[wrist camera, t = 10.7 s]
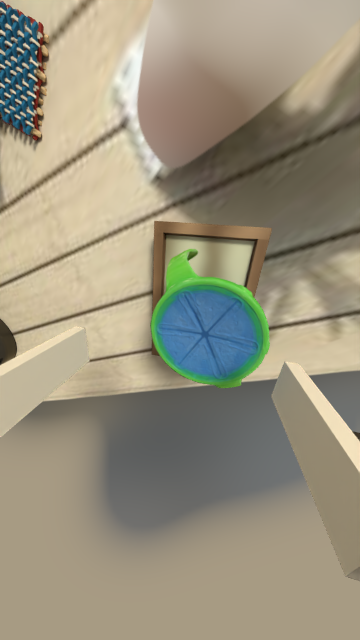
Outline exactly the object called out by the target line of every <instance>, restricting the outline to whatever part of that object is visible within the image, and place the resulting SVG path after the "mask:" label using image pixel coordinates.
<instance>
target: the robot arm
mask: <svg viewBox="0 0 360 640" xmlns="http://www.w3.org/2000/svg"><path fill="white" fill-rule="evenodd" d="M15 354H16V344H15V340H14V338H13V336H12V334H11V332H10V330H9V329H8V327H7V326H6V325H5V324H4V323H3V321H2V320H1V319H0V437H1V436H3V435H4V434H5V433H6V432H7V431H8V430H10V428H12V427H13V426H14V425H15V424H16V423H18V422H19V421H20V420H21V419H22V418H23V417H25V416H26V415H27V414H28V413H29V412H31V411H32V410H33V409H34V408H35V407H36V406H37V405H39V404H40V403H41V402H42V401H43V400H44V399H46V398H47V397H48V396H49V395H50V394H51V393H53V392H54V391H55V390H56V389H57V388H58V387H60V386H61V385H62V384H63V383H64V382H65V381H67V380H68V379H69V378H70V377H71V376H72V375H74V374H75V373H76V372H77V371H78V370H79V369H81V368H82V367H83V366H84V365H85V364H86V363H88V362H89V361H90V358H89V351H88V345H87V338H86V332H85V328H82V327H76V326H75V327H73V328H71V329H69V330H67V331H65V332H63V333H61V334H59V335H58V336H56V337H54V338H52V339H50V340H48V341H46V342H44V343H42V344H40V345H38V346H36V347H34V348H32V349H31V350H29V351H27V352H25V353H23V354H21V355H19V356H17V357H15V358H14V356H15ZM271 397H272V399H273V402H274V404H275V407H276V409H277V412H278V414H279V416H280V419H281V421H282V424H283V426H284V429H285V431H286V433H287V436H288V438H289V441H290V443H291V445H292V448H293V450H294V453H295V455H296V458H297V460H298V463H299V465H300V467H301V470H302V472H303V475H304V477H305V479H306V482H307V484H308V487H309V489H310V492H311V494H312V497H313V499H314V501H315V504H316V506H317V509H318V511H319V513H320V516H321V518H322V521H323V523H324V526H325V528H326V531H327V533H328V535H329V538H330V540H331V543H332V545H333V547H334V550H335V552H336V555H337V557H338V560H339V562H340V565H341V567H342V569H343V572H344V574H345V576H346V577H348V578H351V579H355V580H358V581H360V433H357V432H353V431H351V430H350V428H349V427H348V426H347V424H346V423H345V422H344V421H343V420H342V418H341V417H340V416H339V414H338V413H337V412H336V411H335V409H334V408H333V407H332V405H331V404H330V403H329V402H328V400H327V399H326V398H325V397H324V395H323V394H322V393H321V391H320V390H319V389H318V388H317V386H316V385H315V384H314V383H313V381H312V380H311V379H310V377H309V376H308V375H307V374H306V372H305V371H304V370H303V369H302V367H301V366H300V365H299V364H297V363H291V362H284V365H283V367H282V370H281V372H280V375H279V377H278V380H277V383H276V385H275V388H274V390H273V393H272V395H271Z"/></svg>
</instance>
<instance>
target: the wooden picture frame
mask: <svg viewBox="0 0 360 640" xmlns="http://www.w3.org/2000/svg"><path fill="white" fill-rule="evenodd" d="M271 231H272V228H261V227H245V226H228V225H212V224H195V223H179V222H163V221H154V270H153V311H154V309H155V307H156V305H157V303H158V302H159V300H160V299H161V298H162V296H163V295H164V294H165V292H166V272H167V267H168V264H169V262H170V260H171V259H172V258H173V257H175V256H177V255H178V254H180V253H182V252H184V251H186V250H188V249H196V250H198V254H197V255H196V256H195V257H194V258H192V259H190V260H189V261H188V262H189V264H190V266H191V268H192V269H193V271H194V272H195V273H196V274H197V275H198V276H200V277H216V278H221V279H225V280H228V281H231V282H234V283H236V284H238V285H243V286H244V287H245V288H247V289H248V290H249V291H251V292H252V295H253V297H254V296H255V293H256V289H257V285H258V281H259V277H260V273H261V269H262V266H263V262H264V258H265V254H266V250H267V246H268V242H269V239H270V235H271ZM152 354H153V355H158V356H160V355H159V353H158V351H157V350H156V347H155V345H154V342H153V339H152Z"/></svg>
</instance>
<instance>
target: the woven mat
mask: <svg viewBox="0 0 360 640" xmlns="http://www.w3.org/2000/svg"><path fill="white" fill-rule="evenodd" d="M7 6H8V10H7ZM13 14H14V15H13ZM7 22H8V24H7ZM43 28H44V26H43V25H42V23H40V22H39V24H38V23H37V22H36V20H34V19H32V18H31V17H29V16H28V17H26V16H25V15H24V14H23V13H22V12H20V13H19V10H17V9H13V8H12V7H11V6H10V5H8V4H7V5H6V4H5V3H4V2H3V1H1V2H0V118H1V116H2V120H3V121H4V122H5V123H8V124H9V125H10V121H11V122H12V126H13V127H14V128H17V129H18V130H20V131H21V132H23V133H26V134H27V135H28V136H30V135H31V133H32V134H33V135H34V136H33V139H34V140H37V139H38V138H39V137H40V138H41V132H40V131H39V129H38V126H37V125H39V126H41V125H42V121H40V120H39V119H37V114H38V115H40V116H43V111H42V110H41V109H40V108H38V103H39V104H40V105H43V99H42V98H41V97H39V92H41V93H42V94H44V95H46V91H47V89H46V88H44V87H42V86H40V85H41V84H42V83H43V81H44V82H45V79H46V75H45V74H44V71H43V69H45V70H46V63H44V62H42V55H43V56H46V57H47V56H48V50H47V48H46V47H45V46H44V45H43V41H45V42H46V43H48V40H49V36H48V35H46V34H45V33H43ZM19 29H20V31H19ZM12 55H13V56H12ZM36 56H37V58H36ZM29 63H30V64H29ZM37 67H38V69H37ZM6 77H7V78H6ZM29 77H30V79H28V78H29ZM36 78H37V79H36ZM6 97H8V99H7V98H6ZM16 114H17V115H16ZM32 122H33V124H32ZM33 127H34V128H33Z"/></svg>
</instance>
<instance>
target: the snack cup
mask: <svg viewBox="0 0 360 640" xmlns="http://www.w3.org/2000/svg"><path fill="white" fill-rule="evenodd" d="M197 254H198V250H196V249H188V250H186V251H184V252H182V253H180V254H178V255H177V256H175V257H173V258H172V259H171V260H170V262H169V264H168V267H167V272H166V292H165V294H164V295H163V296H162V298H161V299H160V300H159V302H158V303H157V305H156V307H155V309H154V311H153V315H152V320H151V333H152V339H153V342H154V345H155V347H156V350H157V351H158V353H159V355H160V356H161V358H162V359H163V360H164V361H165V363H166V364H167V365H168V366H169V367H171V368H172V369H173V370H174V371H175V372H177V373H178V374H180V375H182V376H183V377H185V378H187V379H190V380H192V381H195V382H198V383H203V384H210V385H215V386H217V387H219V388H231V387H237V386H240V385H241V381H242V379H243V378H245V377H246V376H248V375H249V374H251V373H252V372H253V371H254V370H255V369H256V368H258V366H259V365H260V364H261V362H262V361H263V359H264V356H265V354H267V352H268V350H269V346H270V343H269V329H268V323H267V320H266V316H265V314H264V312H263V310H262V308H261V306H260V305H259V303H258V302H257V301H256V299H255V298H254V297H253V295H252V292H251V291H249V290H248V289H247V288H245V287H244V286H243V285H238V284H236V283H234V282H231V281H228V280H225V279H221V278H216V277H200V276H198V275H197V274H196V273H195V272H194V271H193V269H192V268H191V266H190V264H189V262H188V261H189V260H190V259H192V258H194V257H195V256H196V255H197Z"/></svg>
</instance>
